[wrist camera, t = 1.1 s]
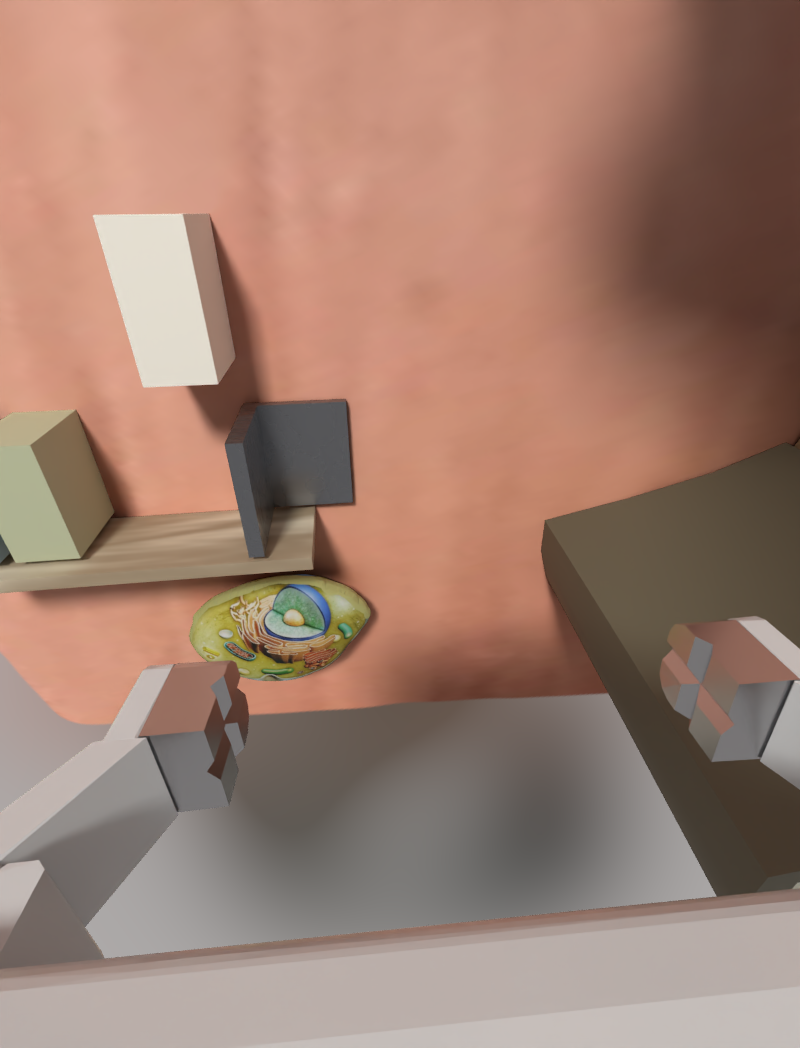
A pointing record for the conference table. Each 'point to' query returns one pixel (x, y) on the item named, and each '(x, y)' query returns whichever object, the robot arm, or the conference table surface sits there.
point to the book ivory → (169, 296)
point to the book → (683, 597)
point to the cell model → (279, 626)
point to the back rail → (172, 551)
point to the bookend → (287, 461)
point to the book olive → (49, 487)
